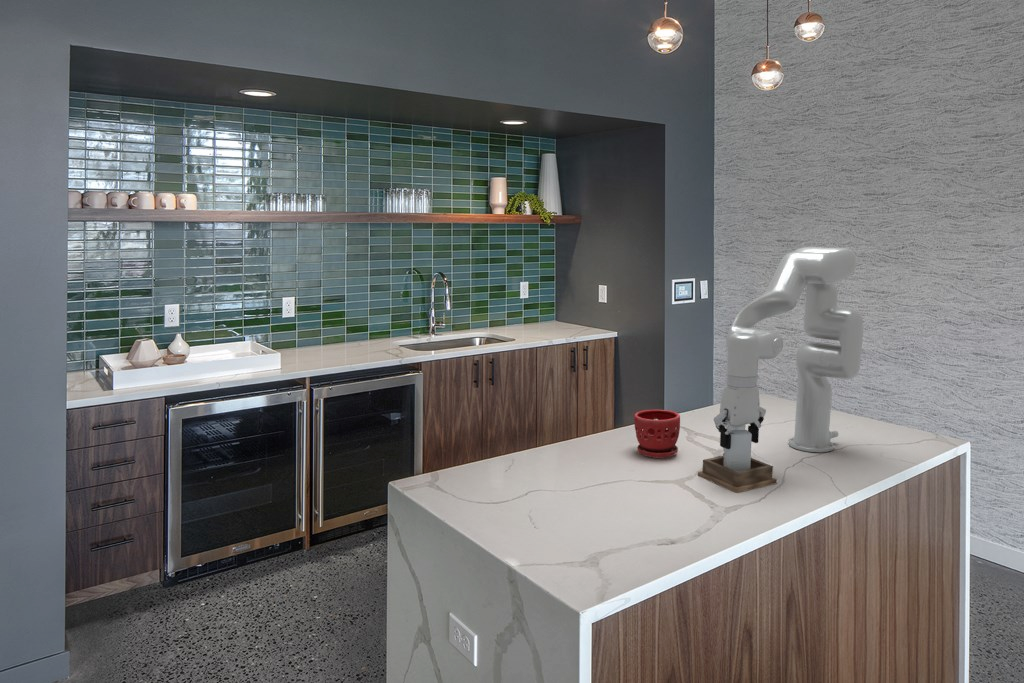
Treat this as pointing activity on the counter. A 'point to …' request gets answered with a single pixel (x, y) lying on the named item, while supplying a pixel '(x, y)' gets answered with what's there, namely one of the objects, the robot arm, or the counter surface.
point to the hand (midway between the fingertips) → (739, 444)
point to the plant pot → (657, 432)
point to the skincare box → (738, 451)
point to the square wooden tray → (737, 475)
